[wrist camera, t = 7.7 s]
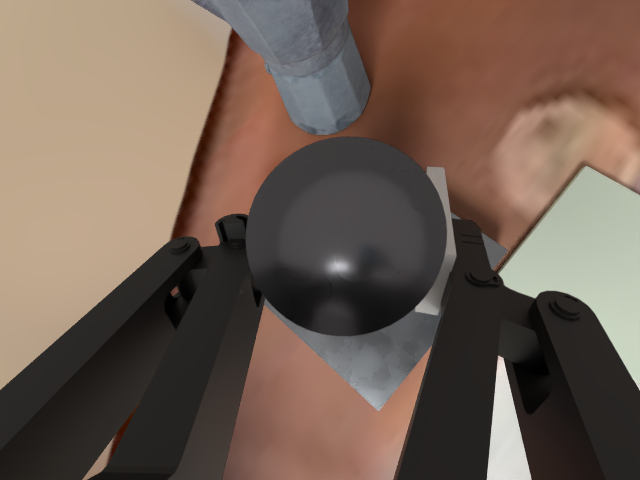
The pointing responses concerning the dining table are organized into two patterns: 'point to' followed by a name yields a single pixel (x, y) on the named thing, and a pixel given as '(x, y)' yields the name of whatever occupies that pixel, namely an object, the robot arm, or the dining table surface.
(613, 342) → the mat
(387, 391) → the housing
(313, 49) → the moka pot
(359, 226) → the silver canister
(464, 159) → the dining table surface
